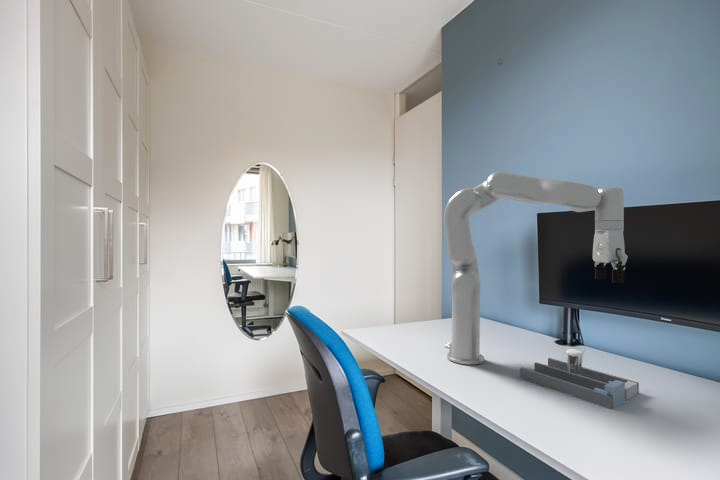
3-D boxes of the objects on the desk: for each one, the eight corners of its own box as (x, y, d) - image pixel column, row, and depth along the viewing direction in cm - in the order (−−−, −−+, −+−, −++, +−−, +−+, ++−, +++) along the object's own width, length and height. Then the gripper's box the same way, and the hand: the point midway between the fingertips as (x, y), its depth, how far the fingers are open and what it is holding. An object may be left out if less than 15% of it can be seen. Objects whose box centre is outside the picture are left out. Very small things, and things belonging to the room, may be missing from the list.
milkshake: (588, 383, 108) (588, 349, 108) (568, 381, 109) (569, 348, 109) (582, 377, 113) (582, 345, 113) (563, 376, 114) (563, 344, 114)
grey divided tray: (519, 377, 113) (519, 361, 113) (549, 366, 122) (549, 351, 122) (611, 408, 92) (611, 389, 92) (638, 393, 102) (638, 375, 102)
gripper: (583, 227, 125) (582, 278, 125) (612, 226, 108) (611, 284, 108) (606, 227, 124) (606, 278, 124) (639, 225, 107) (639, 284, 107)
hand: (608, 280), depth 116 cm, fingers open, 9 cm apart
